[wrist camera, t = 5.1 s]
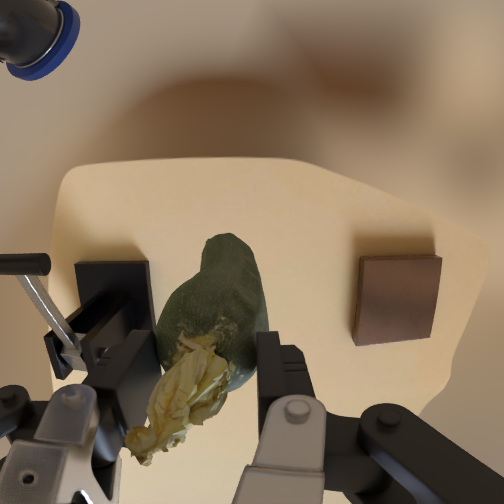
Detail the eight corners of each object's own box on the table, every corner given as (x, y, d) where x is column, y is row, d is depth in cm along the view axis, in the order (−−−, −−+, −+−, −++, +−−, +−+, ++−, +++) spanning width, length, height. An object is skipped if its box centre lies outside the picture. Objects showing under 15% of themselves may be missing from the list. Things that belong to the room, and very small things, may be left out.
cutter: (78, 261, 33) (17, 293, 21) (148, 260, 33) (101, 298, 21) (96, 353, 36) (52, 406, 24) (161, 358, 36) (130, 421, 24)
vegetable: (258, 226, 25) (301, 391, 5) (257, 280, 26) (283, 507, 6) (201, 226, 25) (73, 376, 5) (202, 279, 26) (120, 494, 6)
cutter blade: (0, 245, 18) (-15, 268, 16) (48, 243, 17) (33, 269, 16) (68, 346, 26) (62, 367, 25) (111, 351, 26) (106, 374, 25)
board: (359, 256, 33) (364, 260, 31) (436, 254, 33) (442, 257, 31) (352, 340, 35) (356, 346, 34) (424, 332, 35) (430, 337, 33)
